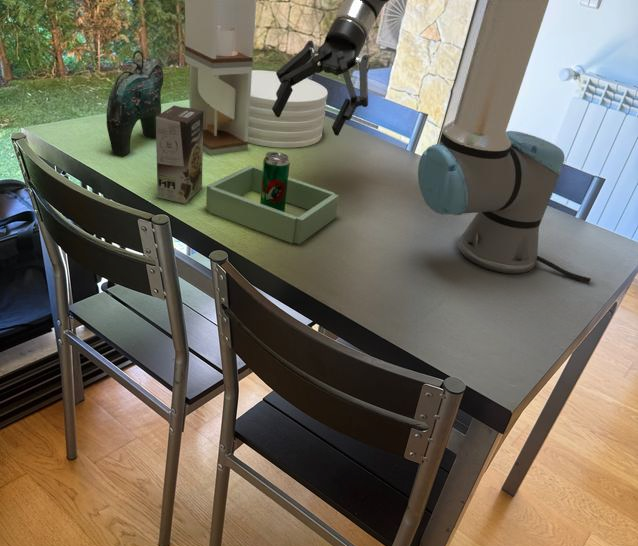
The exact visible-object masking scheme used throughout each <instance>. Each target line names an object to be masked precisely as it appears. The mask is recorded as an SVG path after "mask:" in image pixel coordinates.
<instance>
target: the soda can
mask: <svg viewBox="0 0 638 546" xmlns="http://www.w3.org/2000/svg"><path fill="white" fill-rule="evenodd" d="M290 167H291V162H290V160H289V155H288V154H286V153H285V152H284V153H283V152H279V151H268V152H266V154H265V157H264V158H263V159H262V168H263V172H262V185H261V193H260V200H259V203H260V204H263V205H266V206H268V207H271V208H274V209H277V210H280V211H282V212H285V213H286V204H287V202H286V195H287V185H288V177H290V176H289V174H290Z"/></svg>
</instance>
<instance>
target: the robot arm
mask: <svg viewBox="0 0 638 546" xmlns="http://www.w3.org/2000/svg"><path fill="white" fill-rule="evenodd" d="M388 2H390V0H343V1H342V3H341V5H340V7H339V9H338V12H337V13H336V14H335V17H334V20H333V21H332V23H331V25H330V27H329V29H328V31H327V33H326V35H325V38H324V41H323V43H322V44H321V45H320V46H319V45H317V44H314V42H313V40H308V41H307V42H306V44H305V45H304V47H303V49H301V50H300V51H299V52H298V53H296V54H295V55H294V56H293V57H292V58H291V59H289V60H288V62H285V64H283V66H281V67H280V68H279V69H278V70H277V71H275V72H276V75H277V77H278V79H279V81H280V83H281V84H280V86H279V89H278V90H277V92H276V96H277V100H276V102H275V104H274V106H273V108H272V110H273V112H274V114H275V116H276V117H280V115H281V113H282V111H283V109H284V107H285V105H286V103H287V101H288V99H289V97H290V95H291V93H292V91H293V90H292V86H293V85H295V84H297V83H299V82H300V81H302V80H304V79H309V78H310V77H311V76H313V75H315V74H320V73H322V72H324V73H327V74H332V75H333V76H336V77H338V76H339V75H340V76H341V75H343V79H344V83H345V85H346V88H347V92H348V96H349V98H347V97H346V98H345V99H344V101H343V104H342V105H341V107H340V109H339V111H338V113H337V116H336V117H335V120H334V121H333V124H332V126H331V129H332V131H333V134H334V136H337V137H339V135H340V133H341V131H342V129H343V126H344V125H345V122H347V121H351V119H352V118H353V116H354V114H355V112H356V109H357V108H358V107H363V108H367V107H369V83H368V73H369V70H370V67H371V62H370V59H369V56H368V54H364V55H362V56H360V54H361V52H362V50H363V48H364V46H365V44H366V40H367V39H368V38H369V35H370V34H371V31H372V29H373V27H374V25H375V23H376V21H377V19H378V18H379V15H380V13H381V12H382V10H383V7H384V6H385V5H386V4H387V3H388ZM549 3H550V0H487V1H486V4H485V8H484V11H483V15H482V18H481V19H482V20H481V23H480V26H479V29H478V34H477V37H476V41H475V44H474V48H473V52H472V55H471V59H470V63H469V65H468V70H467V74H466V77H465V80H464V84H463V88H462V92H461V96H460V99H459V102H458V106H457V110H456V113H455V117H454V119H453V120H452V121H451V122H449V123H448V124H446V125H445V126H443V128H442V130H441V135H440V138H439V142H438V143H436V144H432V145H430V146H428V147H427V148H426V149H425V150H424V151H423V152H422V154H421V156H420V158H419V163H418V167H417V180H418V186H419V187H418V188H419V190H420V192H421V193H420V194H421V196H422V198H423V201H424V202H425V204H426V205H427V206H428V208H430V209H431V210H432V211H433V212H435V213H436V214H439V215H454V216H462V215H464V214H465V215H467V214H475V216H474V218H473V219H472V220H471V221H470V223H469V225H468V226H467V227H466V229H465V230H464V231H463V233H462V234H461V237H460V240H459V244H458V249H459V251H460V253H461V254H462V255H463V257H465V258H466V259H467V260H468V261H470V262H472V263H474V264H475V265H477V266H479V267H481V268H484V269H487V270H489V271H493V272H496V273H497V272H498V273H503V274H513V275H515V274H523V273H527V272H529V271H531V270H533V268H534V267H535V265H536V262H537V261H538V262H540V263H542V264H543V265H545V266H548V267H550V268H551V269H553V270H554V271H556V272H558V273H560V274H562V275H564V276H565V277H569V278H571V279H574V280H578V281H580V282H581V281H582V282H585V283H588V284H589V283H590V282H591V280H592V279H591V278H590V277H586V276H583V275H580V274H576V273H572V272H570V271H568V270H565V269H564V268H562V267H560V266H559V265H556V264H555V263H554V262H552V261H549V260H547V259H545V258H544V257H542V256H539V231H540V225H541V223H542V221H543V218H544V216H545V213H546V210H547V208H548V206H549V203H550V201H551V198H552V195H553V193H554V190H555V188H556V186H557V185H556V184H557V183H558V180H559V177H560V176H561V174H562V169H563V166H564V163H565V159H566V158H565V153H564V151H563V150H562V149H561V148H560V147H559V146H557V145H555V144H554V143H552V142H550V141H548V140H545V139H544V138H541V137H537V136H535V135H532V134H529V133H525V132H522V131H521V132H520V131H517V130H516V131H515V130H507V129H508V126H509V123H510V120H511V117H512V114H513V111H514V108H515V105H516V102H517V99H518V95H519V93H520V90H521V87H522V84H523V81H524V78H525V76H526V71H527V69H528V66H529V62H530V59H531V56H532V53H533V51H534V48H535V45H536V42H537V39H538V37H539V32H540V29H541V27H542V24H543V20H544V17H545V14H546V11H547V9H548V5H549ZM318 63H319V64H318ZM355 66H357V69H358V70H359V73H358V75H359V95H357V94H356V90H355V87H354V85H353V81H352V78H351V73H350V72H349V70H350V69H352V68H354V67H355Z"/></svg>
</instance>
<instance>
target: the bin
mask: <svg viewBox="0 0 638 546" xmlns="http://www.w3.org/2000/svg"><path fill="white" fill-rule="evenodd" d="M262 172H263V167H260V166H253V165H248V166H246V167H243V168H241V169H239V170H237V171H234V172H233V173H231V174H229V175H226V176H224V177H222V178H221V179H220V178H219V179H218V180H215V181H213V182H212V183H210V184H207V185H206V194H205V195H206V197H205V198H206V200H205V201H206V202H205V209H206V210H207V211H208V213H210V214H213V215H215V216H218V217H220V218H223V219H226V220H229V221H232V222H234V223H236V224H239V225H242V226H245V227H246V228H247V227H248V228H250V229H253V230H255V231H258V232H261V233H263V234H266V235H268V236H272V237H274V238H276V239H279V240H282V241H283V242H284V241H285V242H287V243H290V244H294V243H295V244H297V245H300V244H302V243H303V242H305V241H306V240H307V239H308V238H311V237H312V236H313V235H314V234H316V233H317V232H318V231H320V230H321V229H322V228H324V227H325V226H327V225H328V224H329V223H330V222H332V221H333V220H335V219H336V215H337V209H338V204H339V203H338V202H339V198H340V197H339V196H340V195H338V194H336V193H335V192H333V191H330V190H327V189H325V188H321V187H320V186H319V187H318V186H316V185H313V184H311V183H307V182H304V181H301V180H298V179H295V178H292V177H290V176H288V185H287V195H286V204H287V203H288V204H290V205H292V206H296V207H299V208H301V209H304V210H307V211H305V212H304V213H302V214H301V215H299V216H297V215H293V214H290V213H288V212H286V211H285V212H282V211H280V210H277V209H274V208H271V207H268V206H266V205H263V204H260V202H258V201H254V200H252V199H249V198H247V197H243V195H245V194H246V193H248V192H250V191H252V192H253V191H254V192H256V193H260V194H261V185H262Z"/></svg>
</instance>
